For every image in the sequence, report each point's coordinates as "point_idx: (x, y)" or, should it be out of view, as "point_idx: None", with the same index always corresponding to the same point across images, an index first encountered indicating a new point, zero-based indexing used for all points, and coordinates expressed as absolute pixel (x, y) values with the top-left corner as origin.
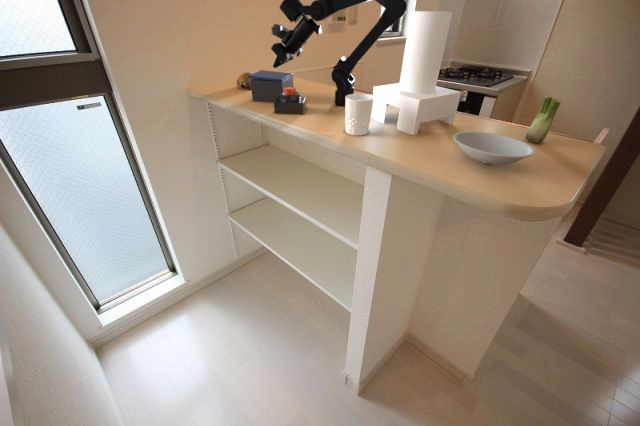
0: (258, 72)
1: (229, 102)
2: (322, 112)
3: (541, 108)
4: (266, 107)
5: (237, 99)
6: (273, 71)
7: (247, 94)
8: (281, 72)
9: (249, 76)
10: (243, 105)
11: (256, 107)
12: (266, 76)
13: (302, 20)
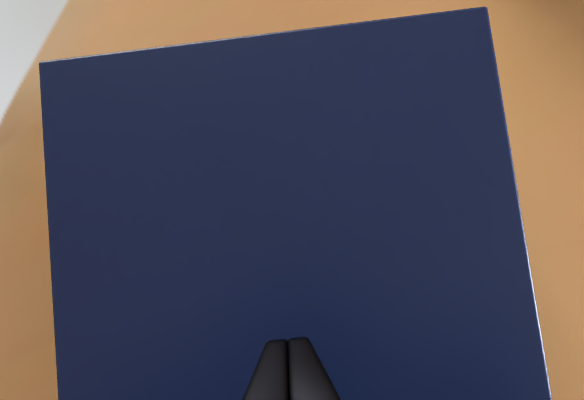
0: (303, 62)
1: (62, 19)
2: None
3: None
4: (28, 358)
5: (160, 22)
6: (505, 197)
7: (332, 4)
8: (518, 334)
9: (42, 86)
10: (22, 160)
11: (3, 283)
12: (128, 289)
13: None
